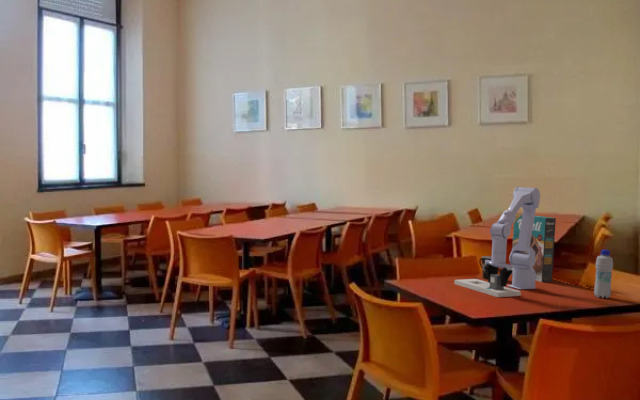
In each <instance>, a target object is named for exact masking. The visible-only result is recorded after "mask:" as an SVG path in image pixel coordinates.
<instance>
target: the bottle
mask: <svg viewBox="0 0 640 400" xmlns="http://www.w3.org/2000/svg"><path fill="white" fill-rule="evenodd" d="M610 254H611V252H610V250H609V249H602V250H601V251H600V255H597V257H596V261H595V269H596V270H595V280H594V281H595V282H594V289H593V290H594V291H593V294H594V296H595V297H596V298H600V297H601V299H604V298H605V299H608V298H610V297H611V296H612V295H611V294H612V273H613V270H614V261H613V258H612V257H611V255H610Z"/></svg>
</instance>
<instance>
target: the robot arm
mask: <svg viewBox="0 0 640 400" xmlns="http://www.w3.org/2000/svg"><path fill="white" fill-rule="evenodd" d="M540 200H541V193H540V190H539V188H538V187H521V186H516V187H515V188H514V190H513V193H512V201H511V203H510V205H509V206H508V209H506V210H504V211H503V212H502V214H501V215H500V217H499V219H498V220H497V221H496V222H494V223H493V224H492V225H491V227H490V230H489V233H490V234H489V235H490V239H491V241H492V243H491V244H492V245H491V256H492V258H491V260H485V265H486V266H484V269H485V271H486V274H487V277H488V279H487V282H489V283H490V274H495V271H496V269H497V267H499V270H498V273H499V274H500V278H501V286H502V287H506V286H507V287H508V288H512V289H517V290H534V289H535V290H536V289H537V287H536V280H535V278H536V273H535V270H534V269H533V268H532V267H533V266H534V264H535V251H534V250H533V249H532V248H531V247H530V242H531V236H532V230H533V223H534V217H535V216H536V210H537V208H539V206H540ZM521 208H522V209H523V211H522V214H523V215H522V222H521V228H520V234H519V241H518V245H516V246H515V247H513V248H511V252H510V254H509V257H508V261H509V263H506V261H507V245H508V237H509V236H510V235H511V230H512V226H513V225H514V221H515V219H516V215H515V214H518V212H519V210H520V209H521ZM522 252H528V253H522ZM512 267H513V270H512ZM512 272H513V274H511V273H512ZM511 275H512V277H511V278H512V280H511V284H508V281H509V278H510V276H511Z"/></svg>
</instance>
